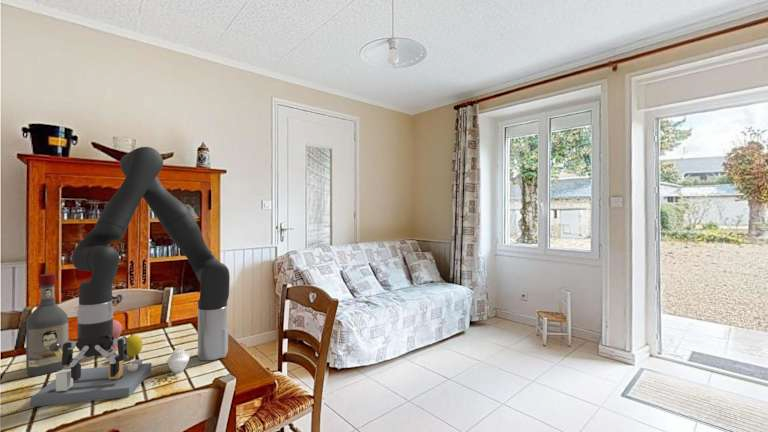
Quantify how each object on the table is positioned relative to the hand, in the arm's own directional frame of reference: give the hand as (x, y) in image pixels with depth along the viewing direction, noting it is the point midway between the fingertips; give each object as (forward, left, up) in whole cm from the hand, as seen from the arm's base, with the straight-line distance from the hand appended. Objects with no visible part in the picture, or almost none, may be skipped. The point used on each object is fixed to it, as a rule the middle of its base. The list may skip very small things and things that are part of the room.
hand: (95, 377), depth 96 cm
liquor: (+23, -22, -5) cm, 32 cm away
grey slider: (+7, 0, -2) cm, 7 cm away
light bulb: (+10, -31, -5) cm, 33 cm away
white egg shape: (-17, -12, -5) cm, 21 cm away
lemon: (+1, -26, -5) cm, 27 cm away
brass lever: (+12, -12, -2) cm, 17 cm away
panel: (+2, -6, -5) cm, 8 cm away
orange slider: (-3, -5, -2) cm, 6 cm away
